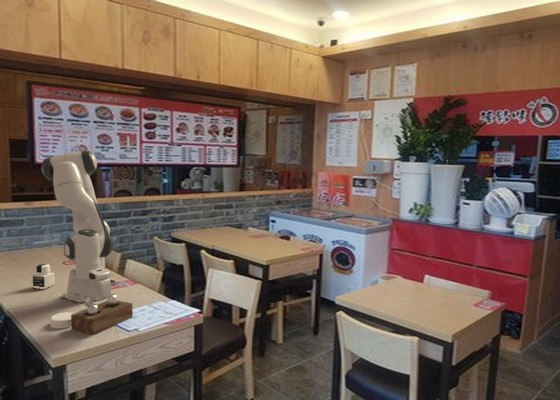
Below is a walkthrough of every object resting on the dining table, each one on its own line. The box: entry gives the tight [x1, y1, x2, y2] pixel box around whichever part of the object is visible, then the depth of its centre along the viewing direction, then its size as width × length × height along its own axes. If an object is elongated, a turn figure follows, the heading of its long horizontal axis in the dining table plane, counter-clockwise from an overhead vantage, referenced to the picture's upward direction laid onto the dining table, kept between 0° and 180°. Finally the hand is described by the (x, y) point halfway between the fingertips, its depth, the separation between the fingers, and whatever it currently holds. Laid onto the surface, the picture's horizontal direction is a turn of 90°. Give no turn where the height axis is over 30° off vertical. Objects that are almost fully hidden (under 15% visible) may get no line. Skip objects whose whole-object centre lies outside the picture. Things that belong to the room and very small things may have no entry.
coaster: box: [49, 311, 76, 330], centre depth 167 cm, size 10×10×4 cm
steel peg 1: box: [87, 303, 98, 316], centre depth 163 cm, size 4×4×5 cm
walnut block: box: [71, 300, 133, 336], centre depth 168 cm, size 12×20×6 cm, turn 156°
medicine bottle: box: [32, 263, 56, 287], centre depth 214 cm, size 7×7×12 cm
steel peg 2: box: [107, 293, 118, 307], centre depth 172 cm, size 4×4×5 cm
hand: (89, 306), depth 162 cm, fingers closed
